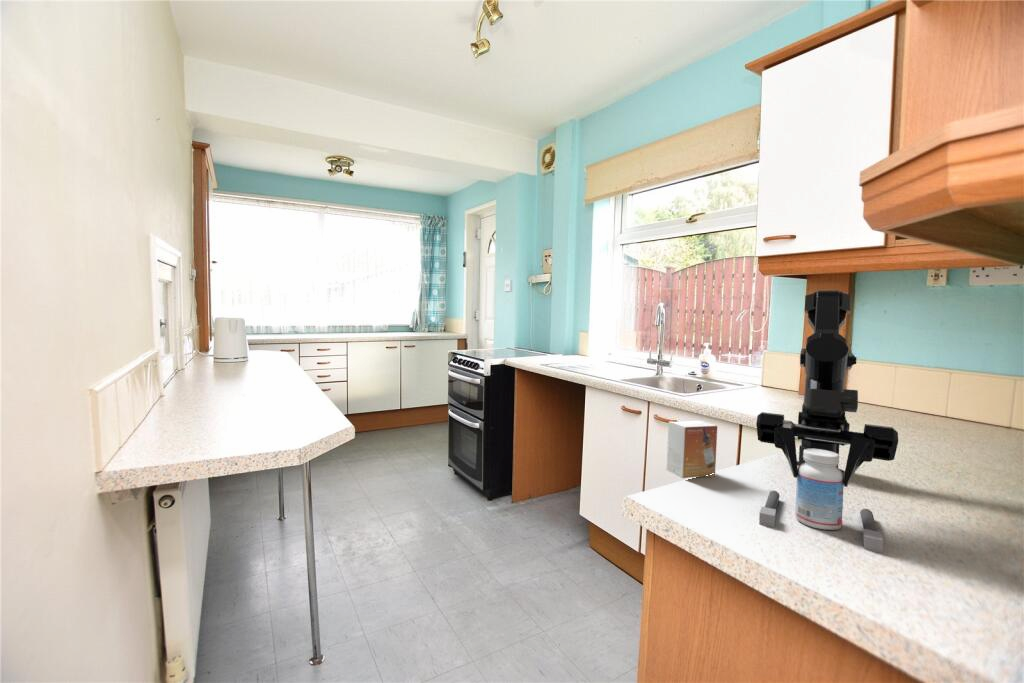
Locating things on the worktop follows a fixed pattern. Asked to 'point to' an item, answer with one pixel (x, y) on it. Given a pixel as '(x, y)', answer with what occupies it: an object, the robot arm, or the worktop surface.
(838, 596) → the worktop surface
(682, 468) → the small box
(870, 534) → the grey block-headed part
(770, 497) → the grey block-tipped rod
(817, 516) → the pill bottle
